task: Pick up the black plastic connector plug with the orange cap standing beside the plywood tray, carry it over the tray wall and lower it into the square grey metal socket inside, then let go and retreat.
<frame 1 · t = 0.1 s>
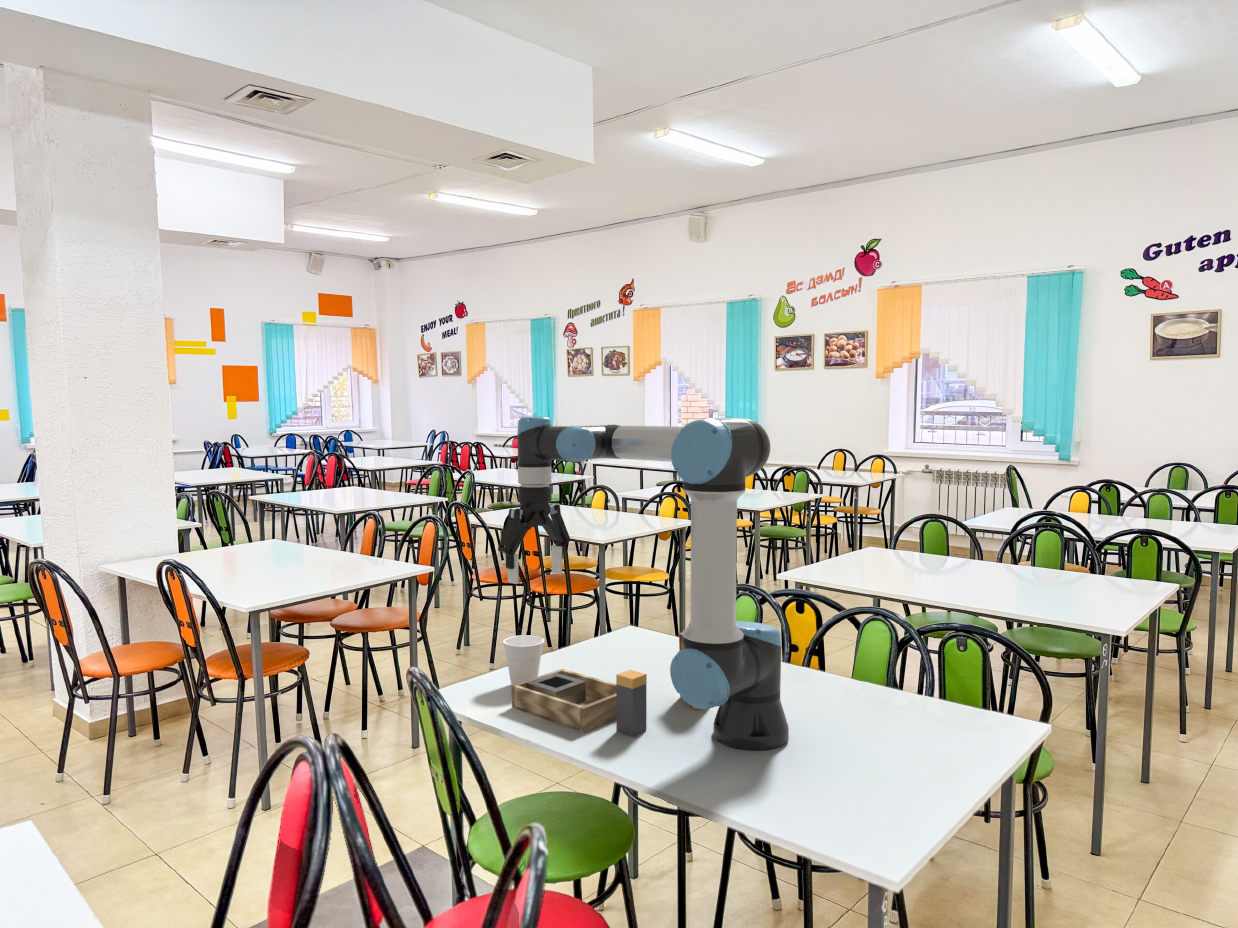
hand: (535, 578, 193), 28 cm above the table, fingers open, 13 cm apart
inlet: (556, 704, 191), resting on tray
connector: (631, 731, 175), on the table
candy box: (694, 703, 192), on the table
tray: (572, 709, 188), on the table
cup: (524, 686, 204), on the table
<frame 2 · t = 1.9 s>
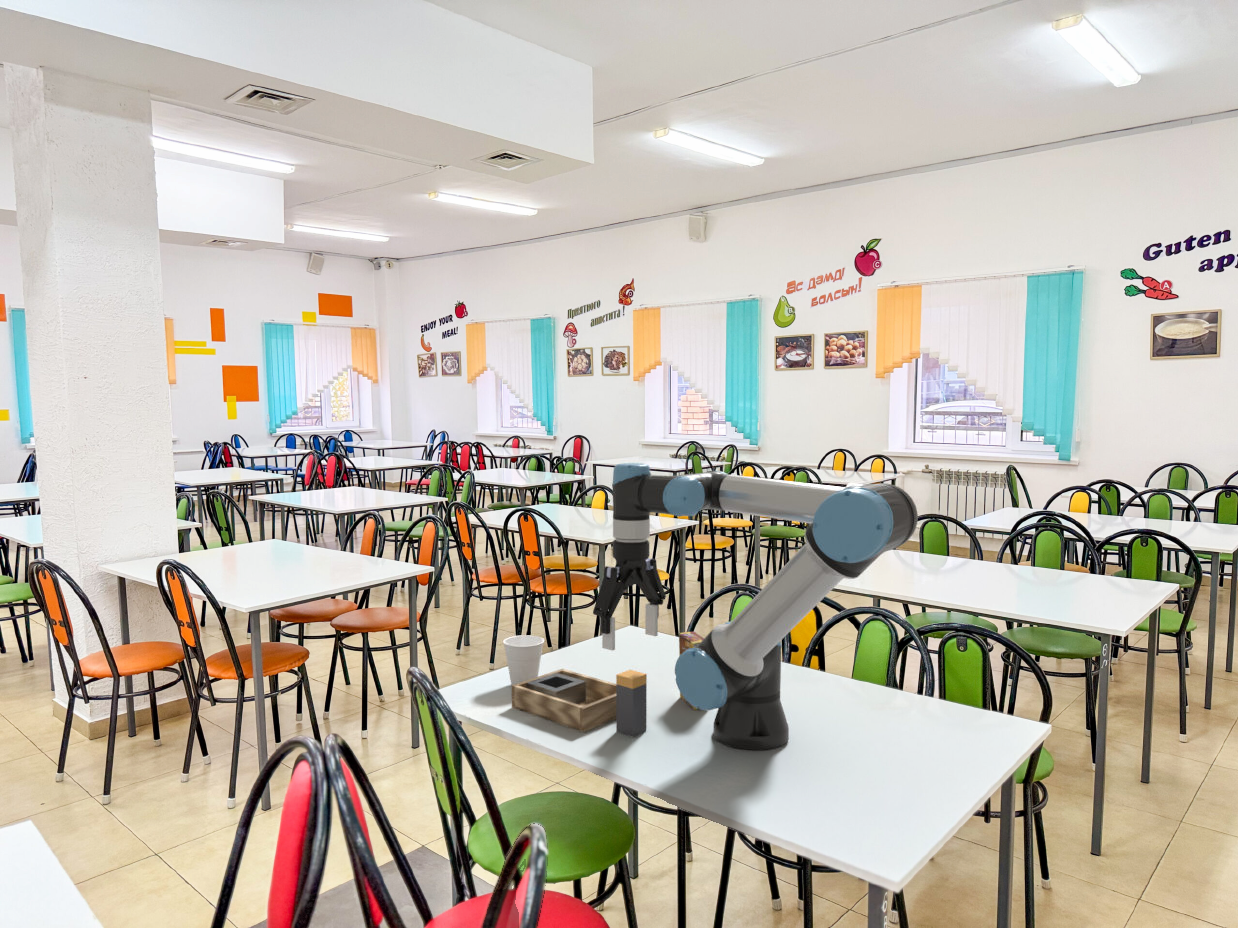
hand: (630, 641, 174), 19 cm above the table, fingers open, 13 cm apart
nothing on the table moved.
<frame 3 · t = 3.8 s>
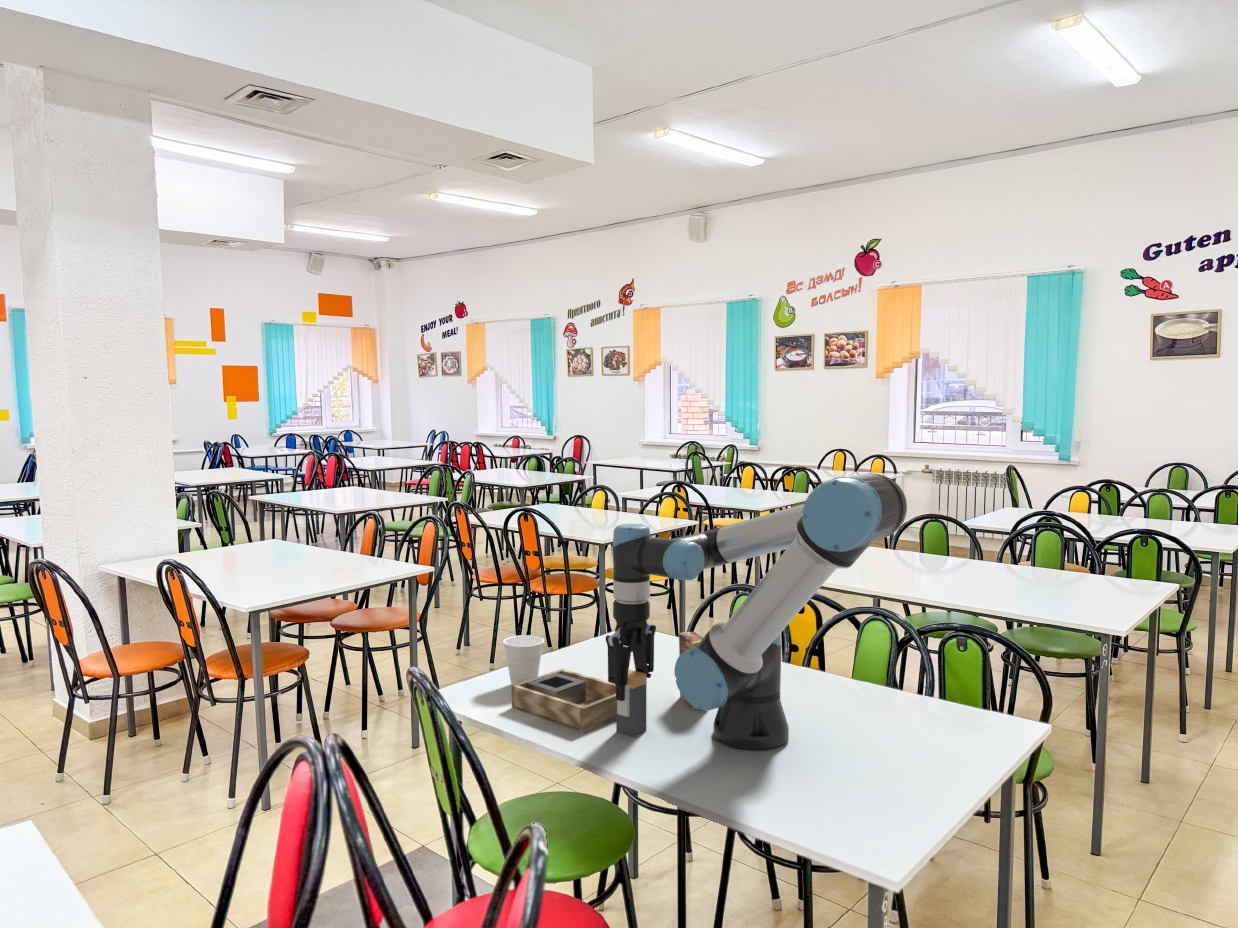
hand: (631, 711, 175), 4 cm above the table, fingers closed on connector, 4 cm apart
connector: (631, 730, 175), on the table, touching gripper
everything else where it was.
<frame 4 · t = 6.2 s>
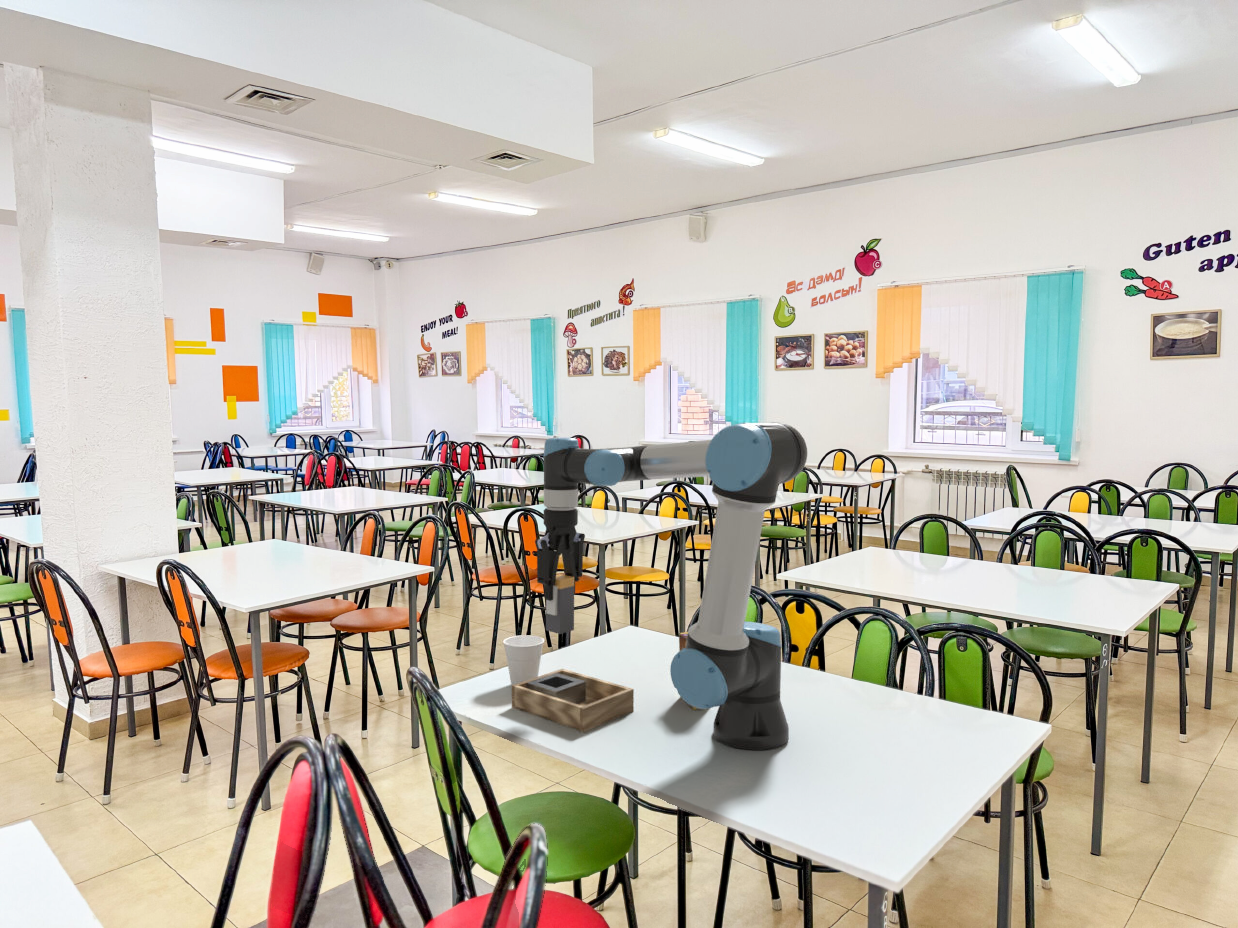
hand: (560, 611, 189), 21 cm above the table, fingers closed on connector, 4 cm apart
connector: (559, 630, 189), point 17 cm above the table, touching gripper
everything else where it was.
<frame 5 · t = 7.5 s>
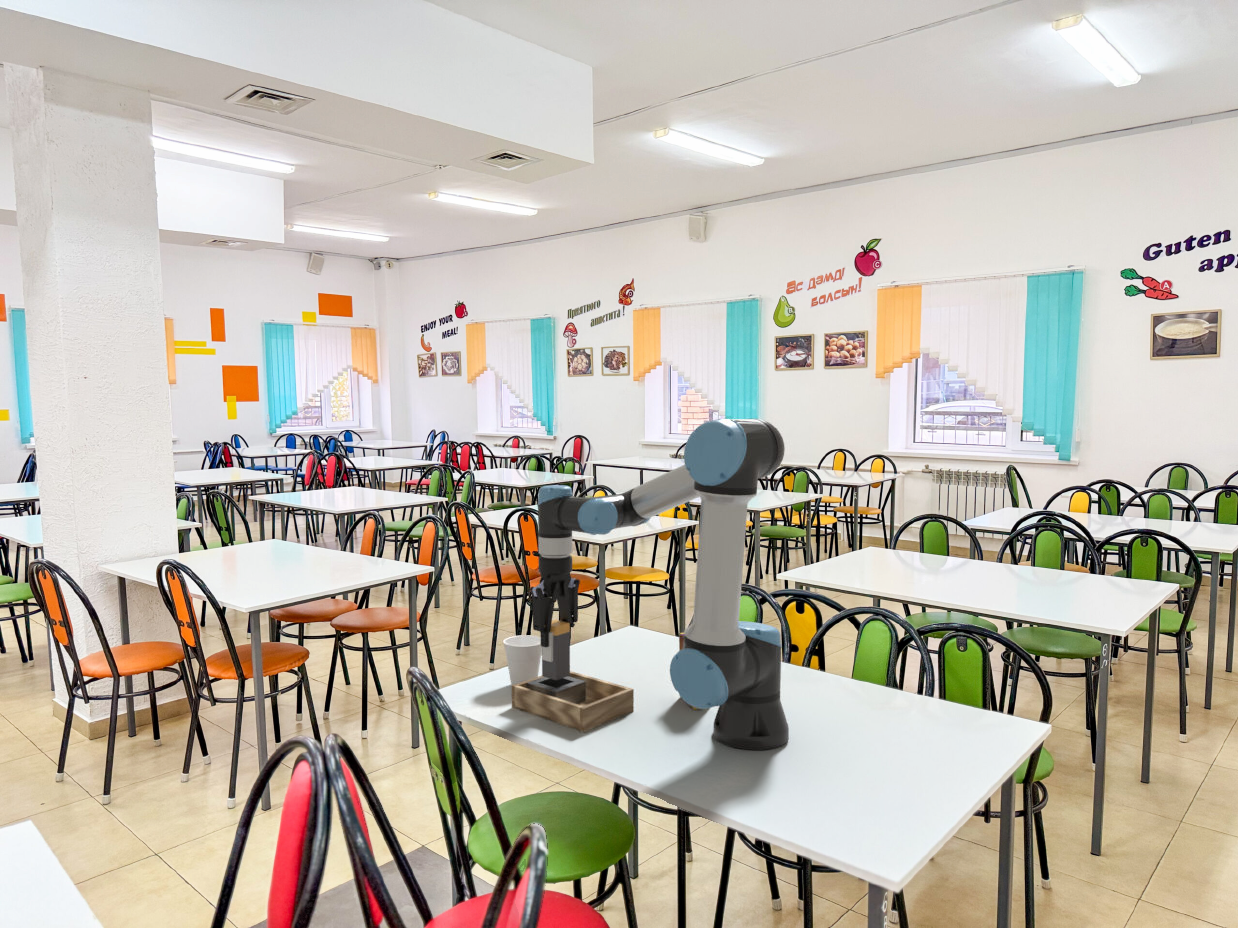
hand: (556, 657, 190), 11 cm above the table, fingers closed on connector, 4 cm apart
connector: (556, 675, 191), point 7 cm above the table, touching gripper
everything else where it was.
when the fingers open (6 cm above the table, at t = 8.7 s): connector drops 1 cm, resting on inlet.
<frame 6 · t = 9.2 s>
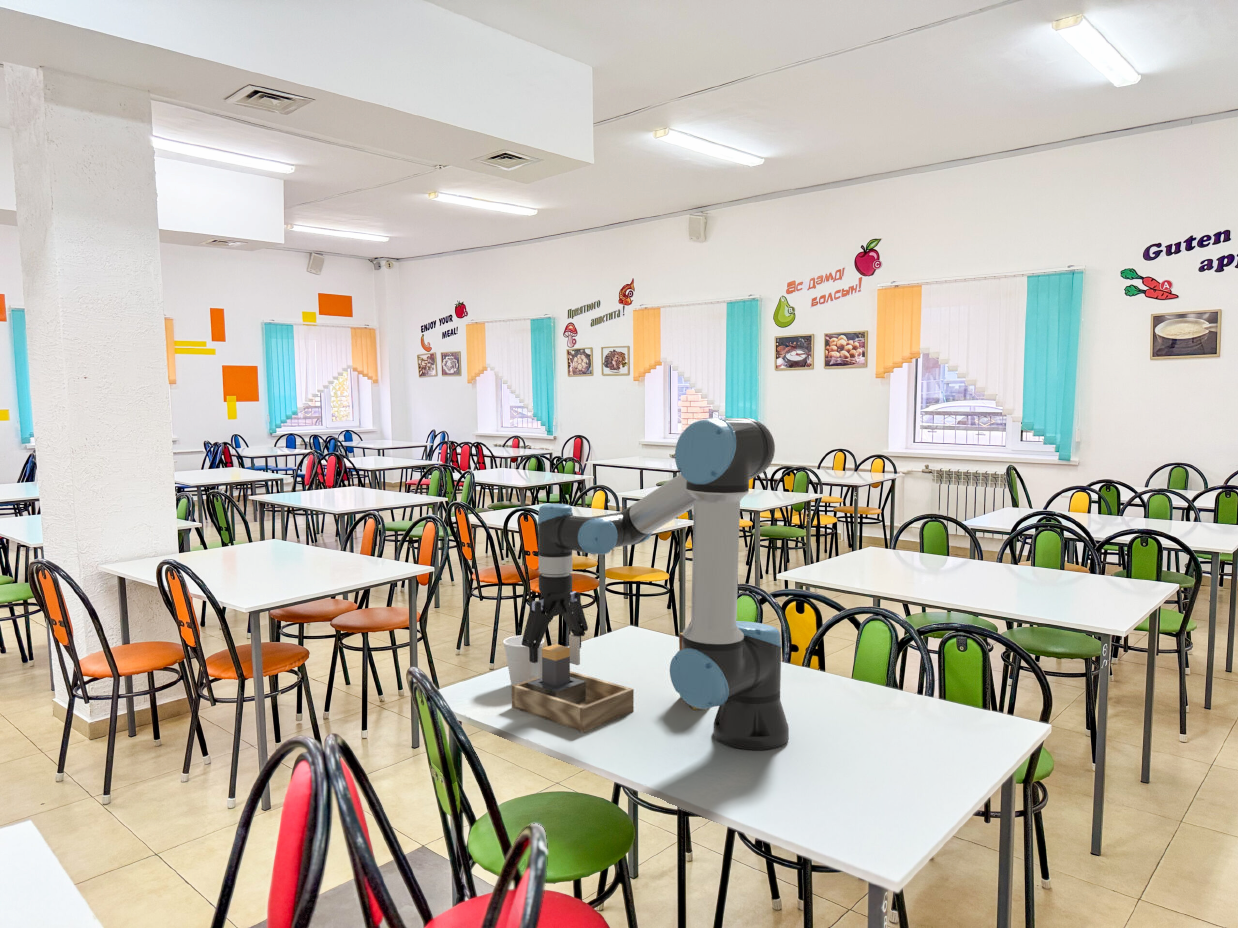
hand: (556, 669, 191), 8 cm above the table, fingers open, 11 cm apart
connector: (556, 700, 191), point 1 cm above the table, touching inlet
everything else where it was.
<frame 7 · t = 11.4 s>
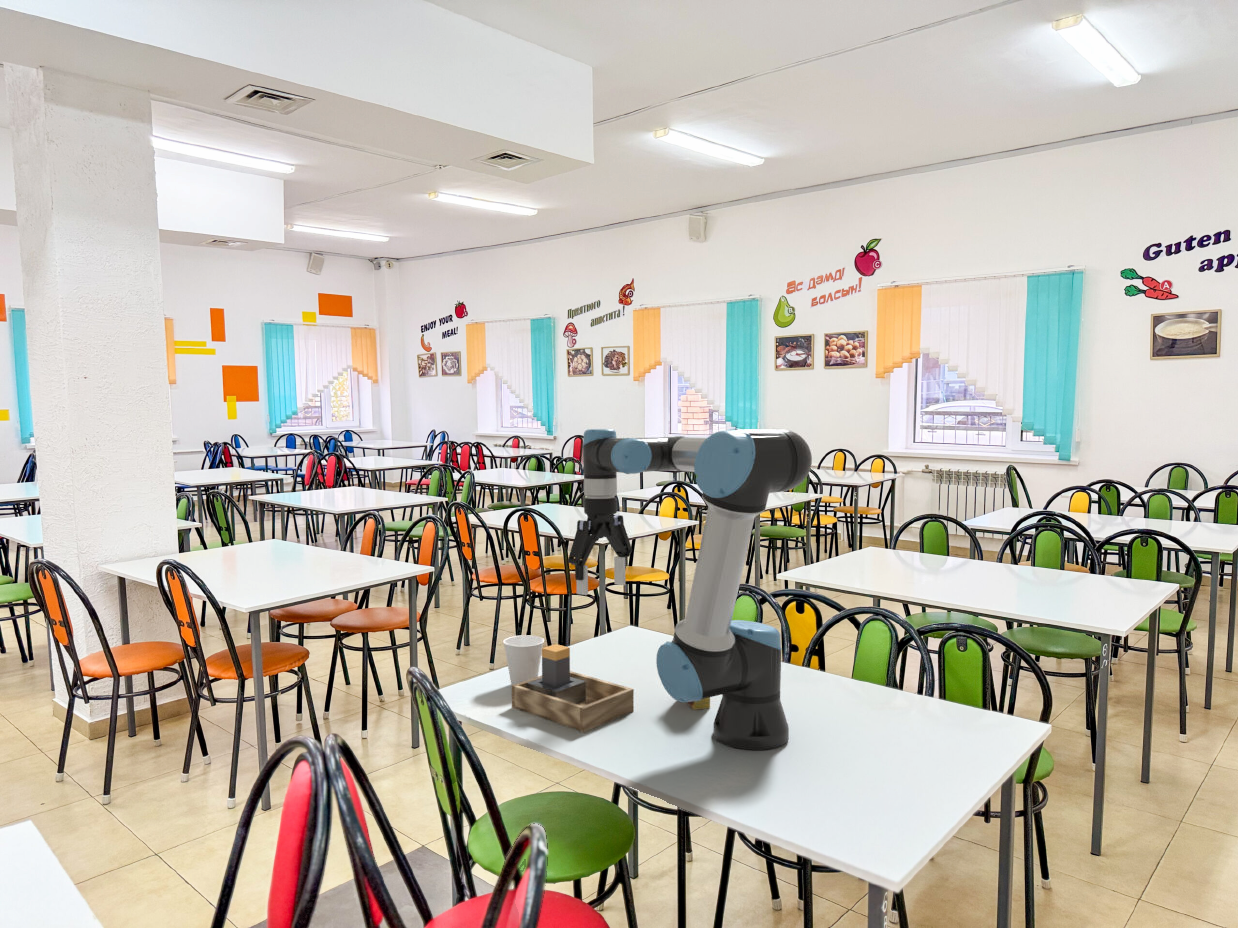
hand: (601, 589, 194), 25 cm above the table, fingers open, 13 cm apart
nothing on the table moved.
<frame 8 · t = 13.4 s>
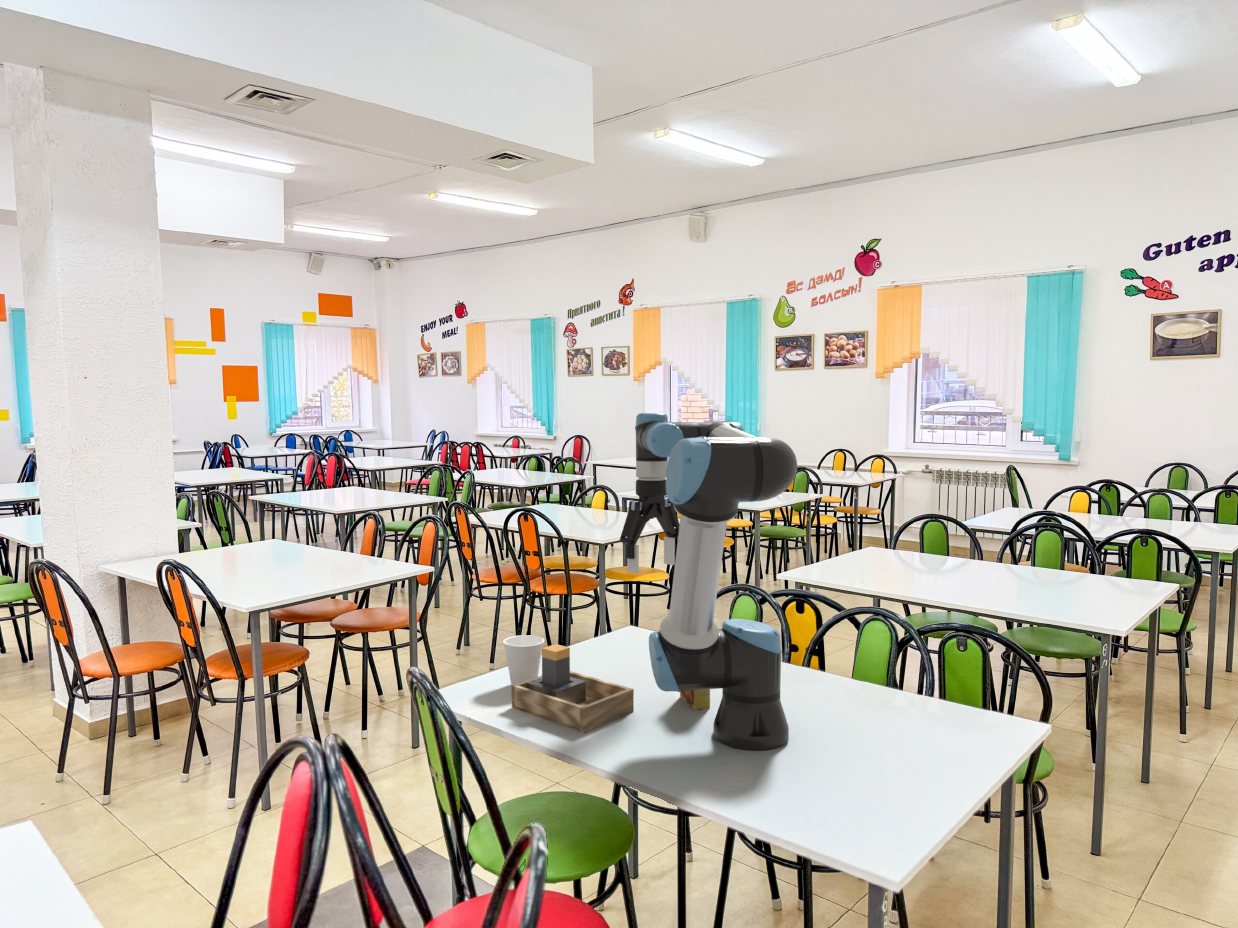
hand: (651, 568, 200), 29 cm above the table, fingers open, 13 cm apart
nothing on the table moved.
at the end: connector 0.0 cm off-centre on the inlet, point 0.9 cm above the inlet's base; connector tilted 0°; the gripper is holding nothing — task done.
